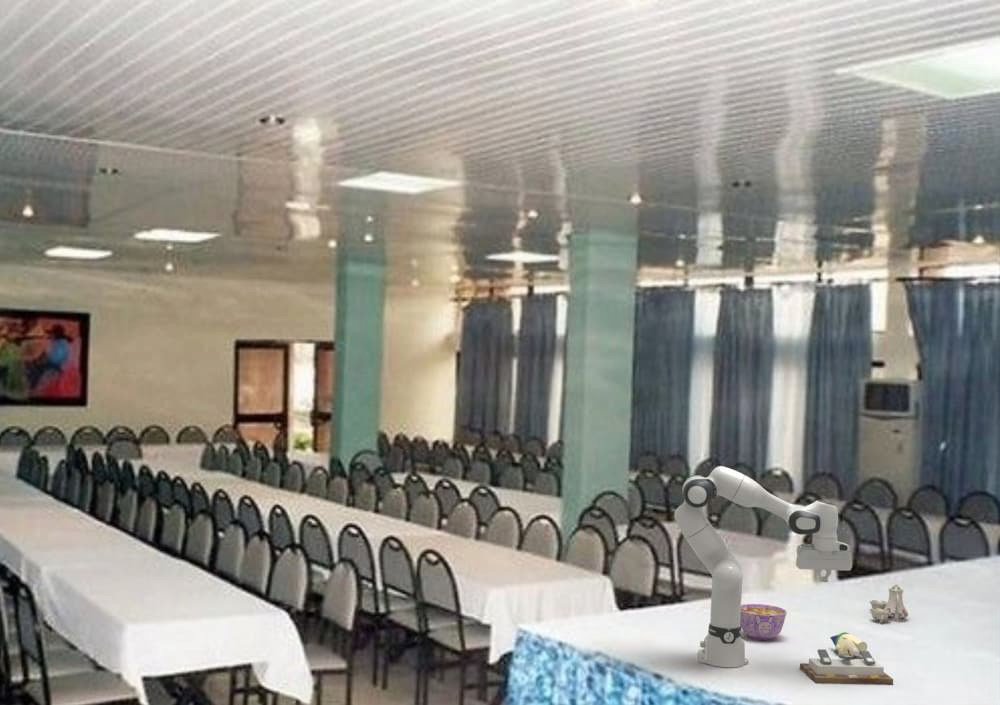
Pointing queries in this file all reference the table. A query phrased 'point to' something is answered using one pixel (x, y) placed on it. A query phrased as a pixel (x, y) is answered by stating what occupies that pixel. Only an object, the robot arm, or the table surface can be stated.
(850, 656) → the rocker
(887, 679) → the chart board
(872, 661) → the block
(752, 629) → the bowl of food
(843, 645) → the cartoon head
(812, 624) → the table surface
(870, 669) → the switch housing
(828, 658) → the block
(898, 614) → the chinaware
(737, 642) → the robot arm
